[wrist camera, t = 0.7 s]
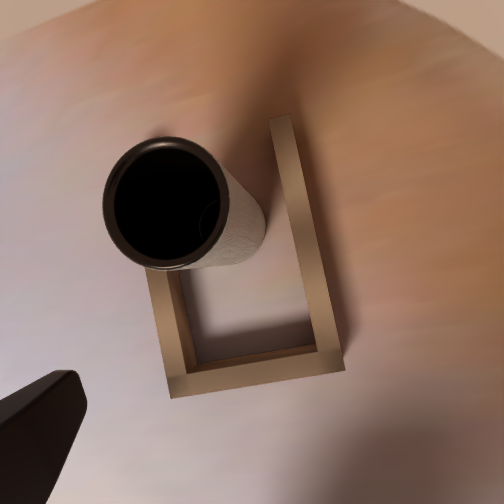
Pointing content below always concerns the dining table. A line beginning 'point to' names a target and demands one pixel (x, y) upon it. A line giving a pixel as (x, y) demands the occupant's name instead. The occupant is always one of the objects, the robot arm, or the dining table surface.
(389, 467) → the dining table surface
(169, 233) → the planter
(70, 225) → the dining table surface
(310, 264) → the tan u-shaped frame
